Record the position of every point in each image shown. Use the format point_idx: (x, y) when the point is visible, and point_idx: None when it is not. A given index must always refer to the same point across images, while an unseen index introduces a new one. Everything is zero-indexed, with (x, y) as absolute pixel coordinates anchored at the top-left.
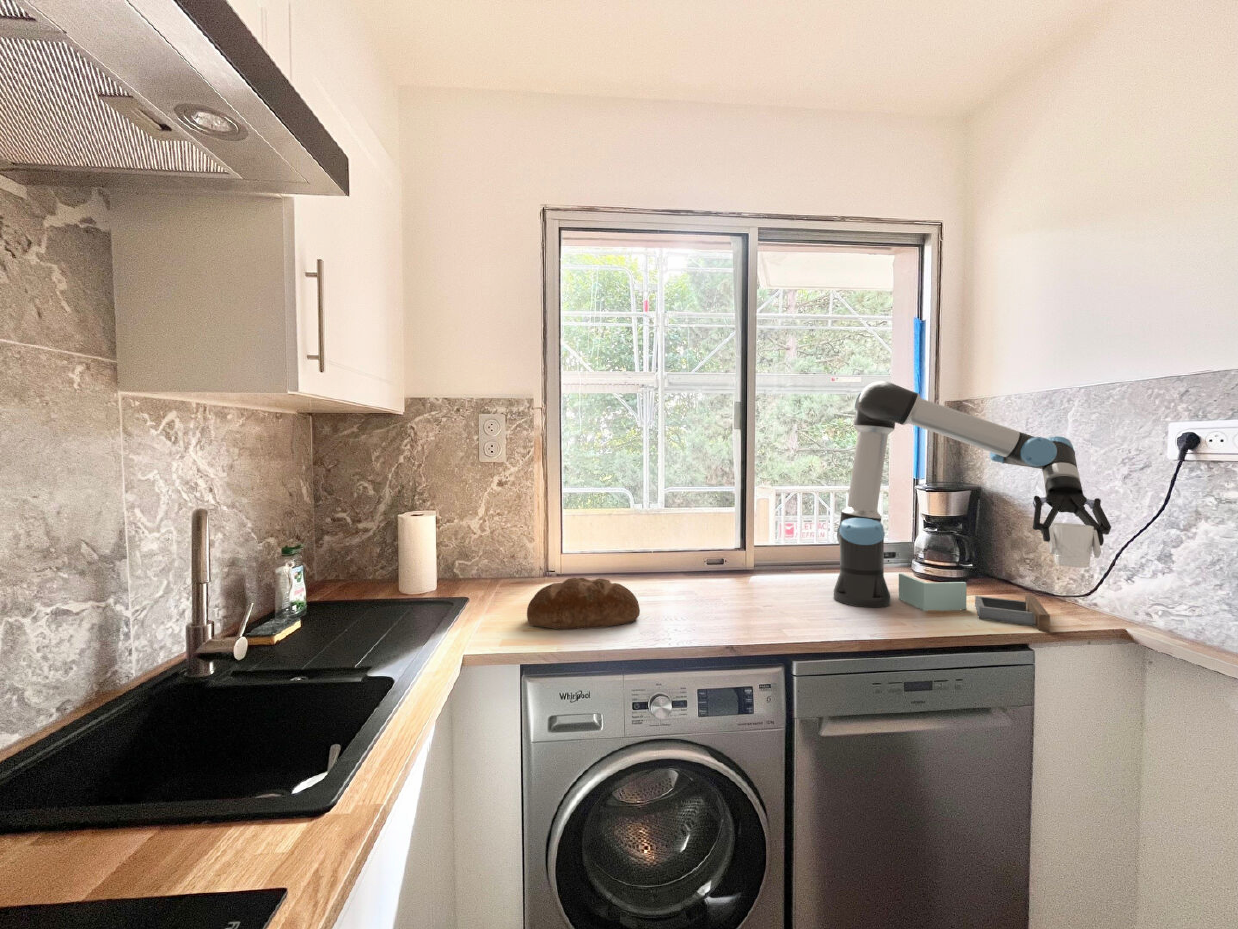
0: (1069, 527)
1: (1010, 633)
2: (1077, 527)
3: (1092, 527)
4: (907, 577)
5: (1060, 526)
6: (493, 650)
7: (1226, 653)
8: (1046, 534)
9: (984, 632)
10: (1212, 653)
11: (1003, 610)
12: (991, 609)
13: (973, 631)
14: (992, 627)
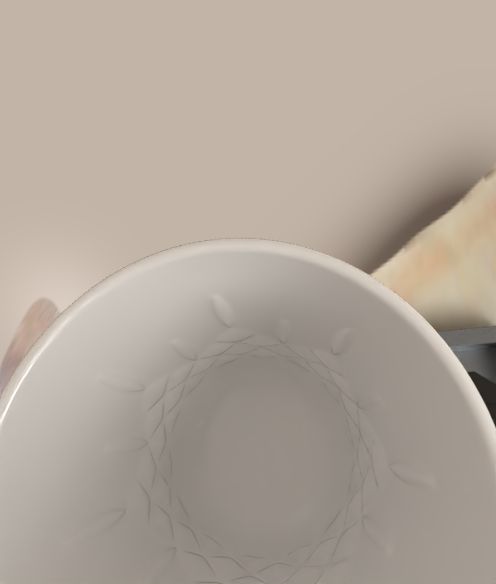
0: (285, 246)
1: (408, 242)
2: (203, 242)
3: (24, 358)
4: None
5: (383, 285)
6: None
7: (9, 351)
8: (489, 406)
9: (459, 216)
10: (37, 334)
11: (454, 330)
12: (488, 328)
13: (482, 210)
14: (452, 269)
